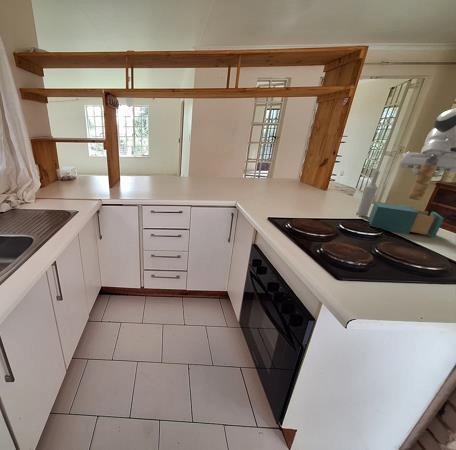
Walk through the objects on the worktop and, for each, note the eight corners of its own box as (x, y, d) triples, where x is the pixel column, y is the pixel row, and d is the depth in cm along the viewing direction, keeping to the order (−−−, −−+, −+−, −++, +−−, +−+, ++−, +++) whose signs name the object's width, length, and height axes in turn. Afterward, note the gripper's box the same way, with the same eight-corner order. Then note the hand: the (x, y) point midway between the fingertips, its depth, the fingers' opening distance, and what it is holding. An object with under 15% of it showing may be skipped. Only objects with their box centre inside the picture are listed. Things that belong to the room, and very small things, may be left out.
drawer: (430, 230, 112) (439, 212, 109) (438, 237, 103) (448, 218, 100) (391, 223, 120) (398, 206, 117) (396, 230, 110) (403, 212, 107)
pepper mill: (420, 199, 114) (440, 154, 107) (423, 200, 111) (444, 155, 103) (406, 197, 117) (425, 154, 110) (409, 198, 113) (428, 154, 106)
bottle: (353, 213, 137) (368, 170, 129) (363, 214, 137) (379, 171, 128) (359, 216, 132) (375, 171, 124) (369, 217, 132) (386, 172, 123)
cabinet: (402, 226, 118) (411, 206, 114) (408, 234, 108) (418, 212, 104) (367, 220, 126) (374, 201, 122) (370, 227, 115) (378, 206, 112)
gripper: (405, 147, 117) (396, 168, 114) (470, 150, 104) (462, 173, 101) (401, 156, 122) (393, 176, 119) (463, 160, 108) (455, 183, 105)
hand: (425, 175), depth 109 cm, fingers closed on pepper mill, 5 cm apart
